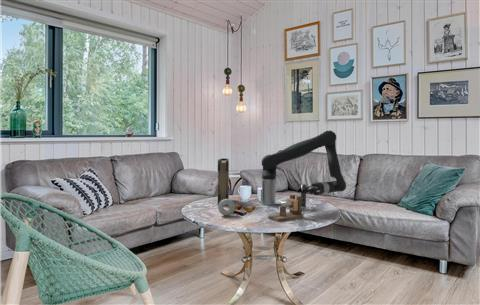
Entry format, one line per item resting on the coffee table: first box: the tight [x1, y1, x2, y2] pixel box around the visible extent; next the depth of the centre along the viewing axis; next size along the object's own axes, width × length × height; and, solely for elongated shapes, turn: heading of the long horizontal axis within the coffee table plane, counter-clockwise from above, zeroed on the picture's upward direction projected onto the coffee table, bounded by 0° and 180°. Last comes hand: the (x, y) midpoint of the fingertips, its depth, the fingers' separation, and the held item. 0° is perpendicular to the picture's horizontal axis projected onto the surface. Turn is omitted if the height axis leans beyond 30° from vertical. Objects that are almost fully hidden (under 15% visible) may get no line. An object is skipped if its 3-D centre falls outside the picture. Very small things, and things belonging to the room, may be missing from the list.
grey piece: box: [280, 183, 307, 208], centre depth 208 cm, size 3×18×13 cm, turn 126°
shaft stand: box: [267, 194, 305, 223], centre depth 205 cm, size 9×19×12 cm, turn 126°
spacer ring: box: [286, 197, 298, 211], centre depth 208 cm, size 7×2×6 cm, turn 36°
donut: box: [217, 198, 236, 217], centre depth 209 cm, size 10×3×10 cm, turn 99°
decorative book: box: [217, 158, 230, 207], centre depth 247 cm, size 23×7×30 cm, turn 0°
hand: (300, 190), depth 211 cm, fingers closed on grey piece, 3 cm apart
